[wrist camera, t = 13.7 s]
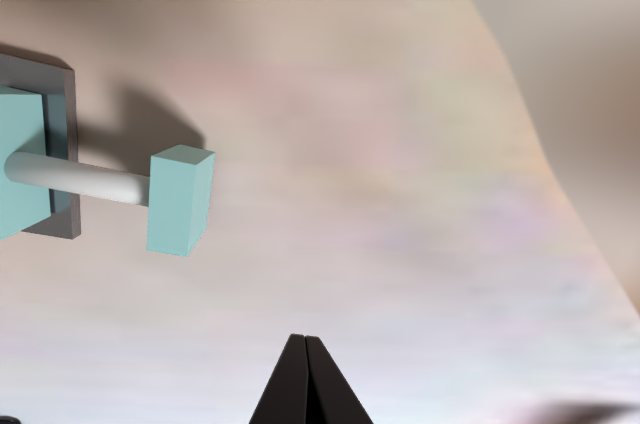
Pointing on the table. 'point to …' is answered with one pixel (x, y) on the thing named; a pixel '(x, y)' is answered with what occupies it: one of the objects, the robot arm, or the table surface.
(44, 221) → the bench vise
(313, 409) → the robot arm
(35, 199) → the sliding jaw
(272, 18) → the table surface
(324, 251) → the table surface
